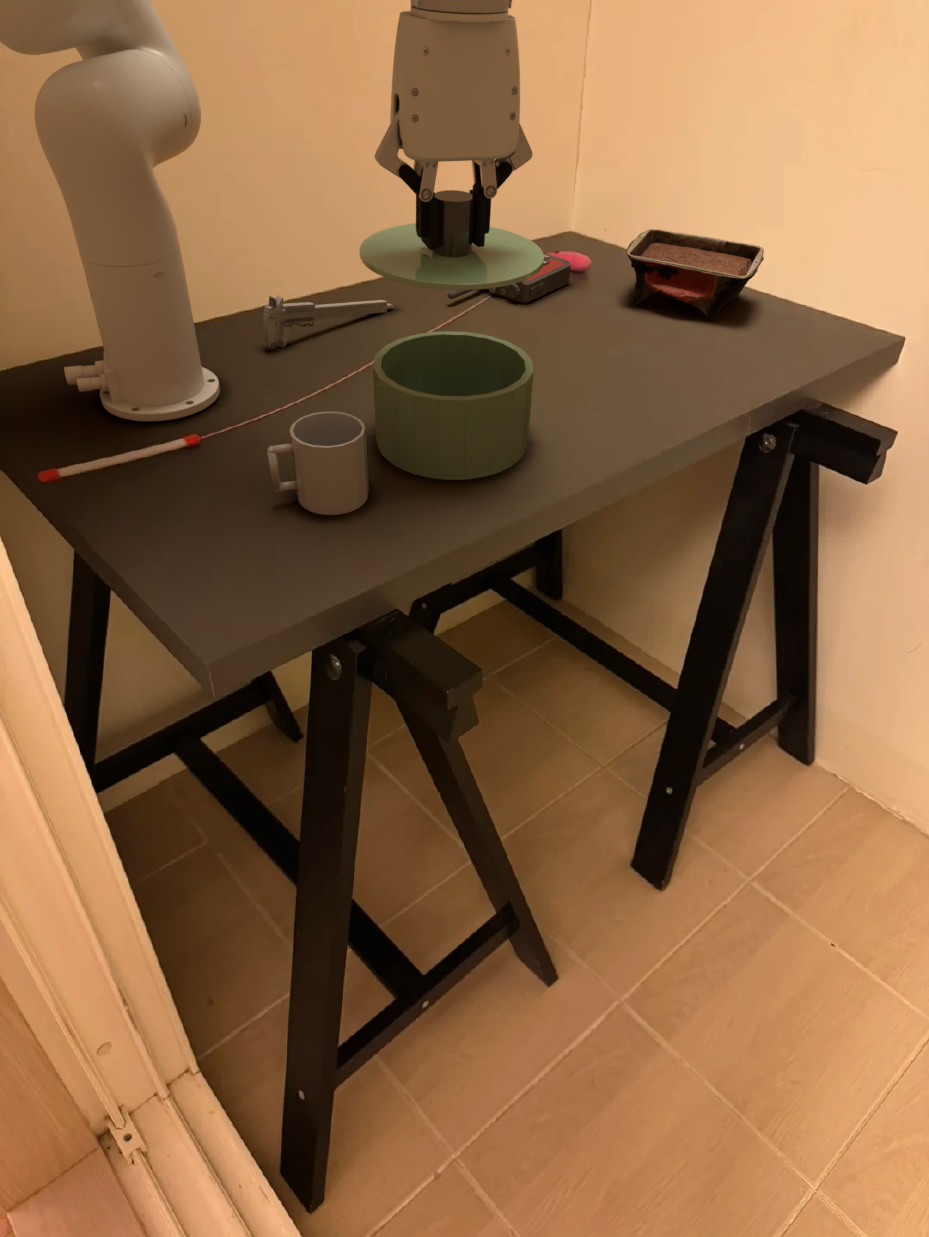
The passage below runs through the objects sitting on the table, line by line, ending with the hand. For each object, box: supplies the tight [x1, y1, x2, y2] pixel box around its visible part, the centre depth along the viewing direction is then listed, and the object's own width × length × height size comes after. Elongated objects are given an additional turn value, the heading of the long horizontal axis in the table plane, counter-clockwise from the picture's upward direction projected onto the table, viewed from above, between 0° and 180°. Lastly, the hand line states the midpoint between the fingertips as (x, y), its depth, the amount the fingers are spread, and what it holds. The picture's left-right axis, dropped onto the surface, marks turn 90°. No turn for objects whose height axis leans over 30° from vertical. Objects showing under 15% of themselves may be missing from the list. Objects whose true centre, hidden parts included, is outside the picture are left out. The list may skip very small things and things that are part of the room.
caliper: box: [262, 295, 395, 350], centre depth 110 cm, size 20×1×6 cm, turn 136°
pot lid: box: [359, 189, 544, 291], centre depth 77 cm, size 17×17×6 cm
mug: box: [266, 411, 370, 516], centre depth 80 cm, size 9×7×7 cm
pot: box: [372, 330, 535, 481], centre depth 88 cm, size 16×16×8 cm
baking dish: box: [626, 228, 765, 319], centre depth 121 cm, size 14×18×10 cm
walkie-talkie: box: [446, 253, 572, 304], centre depth 122 cm, size 9×4×20 cm
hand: (452, 241), depth 78 cm, fingers closed on pot lid, 3 cm apart
